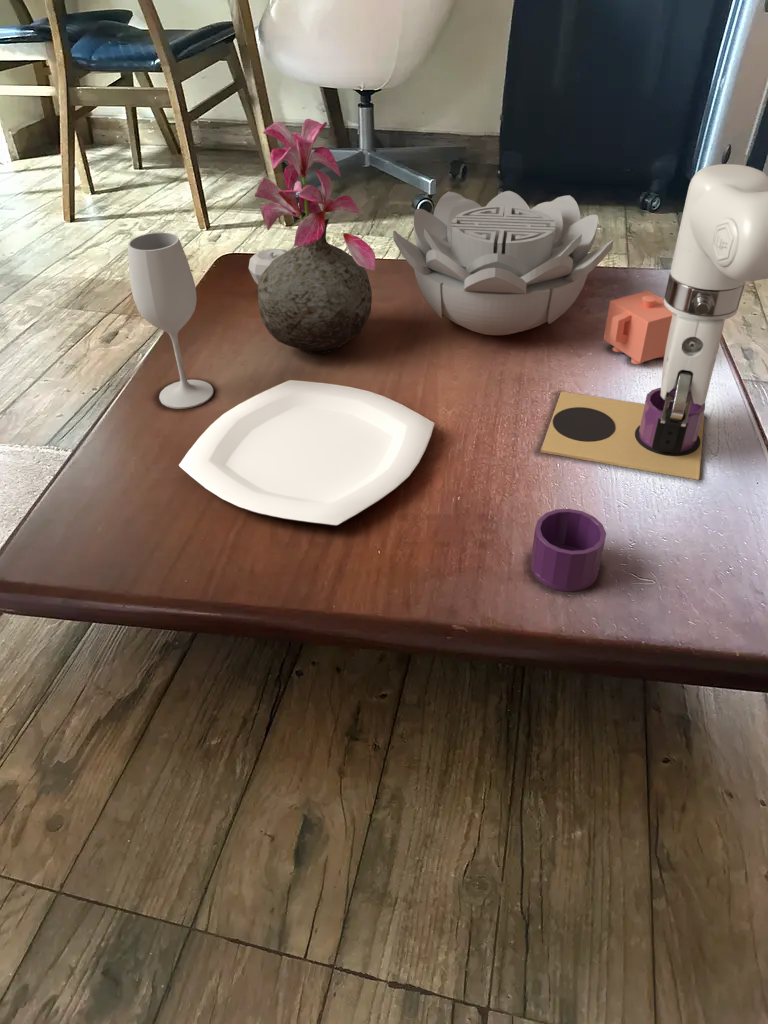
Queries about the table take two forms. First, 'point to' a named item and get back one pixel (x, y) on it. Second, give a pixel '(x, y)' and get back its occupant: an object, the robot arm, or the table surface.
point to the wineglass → (166, 304)
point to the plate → (309, 451)
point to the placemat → (613, 436)
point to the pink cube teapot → (638, 326)
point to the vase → (312, 255)
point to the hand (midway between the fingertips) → (668, 432)
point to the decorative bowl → (502, 260)
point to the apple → (263, 261)
